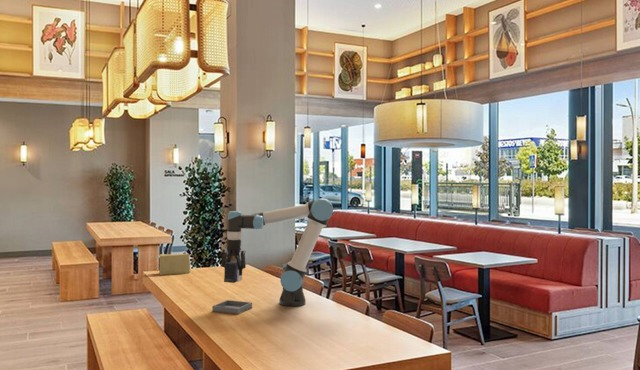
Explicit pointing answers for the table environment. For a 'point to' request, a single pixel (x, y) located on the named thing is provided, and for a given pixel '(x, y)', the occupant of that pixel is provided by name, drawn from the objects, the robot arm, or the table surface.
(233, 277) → the small box
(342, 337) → the table surface
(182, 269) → the olive rectangular block
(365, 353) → the table surface
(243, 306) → the tray
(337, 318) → the table surface
